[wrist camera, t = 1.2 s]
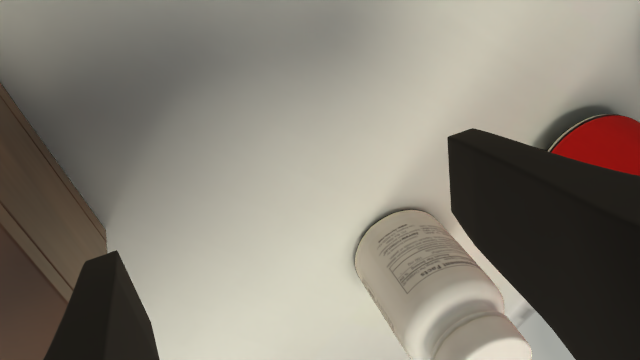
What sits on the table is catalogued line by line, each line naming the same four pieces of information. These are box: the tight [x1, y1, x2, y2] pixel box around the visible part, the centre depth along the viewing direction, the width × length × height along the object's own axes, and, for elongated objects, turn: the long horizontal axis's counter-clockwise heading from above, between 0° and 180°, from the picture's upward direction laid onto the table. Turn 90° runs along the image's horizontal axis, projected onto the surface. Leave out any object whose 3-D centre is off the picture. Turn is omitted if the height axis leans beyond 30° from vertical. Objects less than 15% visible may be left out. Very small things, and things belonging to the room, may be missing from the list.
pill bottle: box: [355, 210, 532, 360], centre depth 25 cm, size 4×4×8 cm
